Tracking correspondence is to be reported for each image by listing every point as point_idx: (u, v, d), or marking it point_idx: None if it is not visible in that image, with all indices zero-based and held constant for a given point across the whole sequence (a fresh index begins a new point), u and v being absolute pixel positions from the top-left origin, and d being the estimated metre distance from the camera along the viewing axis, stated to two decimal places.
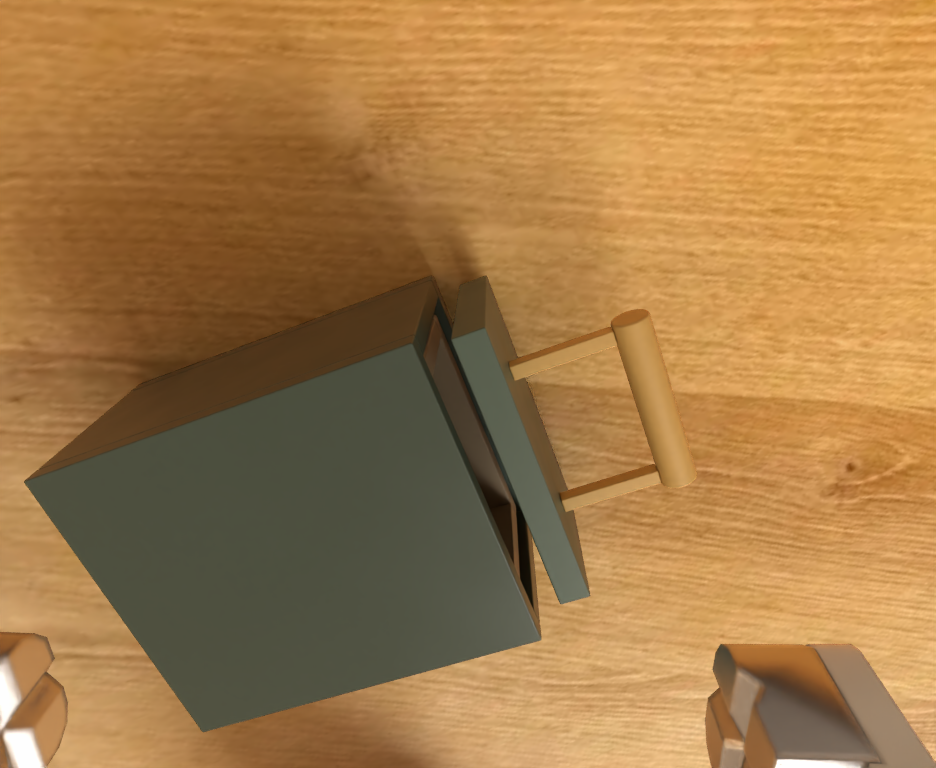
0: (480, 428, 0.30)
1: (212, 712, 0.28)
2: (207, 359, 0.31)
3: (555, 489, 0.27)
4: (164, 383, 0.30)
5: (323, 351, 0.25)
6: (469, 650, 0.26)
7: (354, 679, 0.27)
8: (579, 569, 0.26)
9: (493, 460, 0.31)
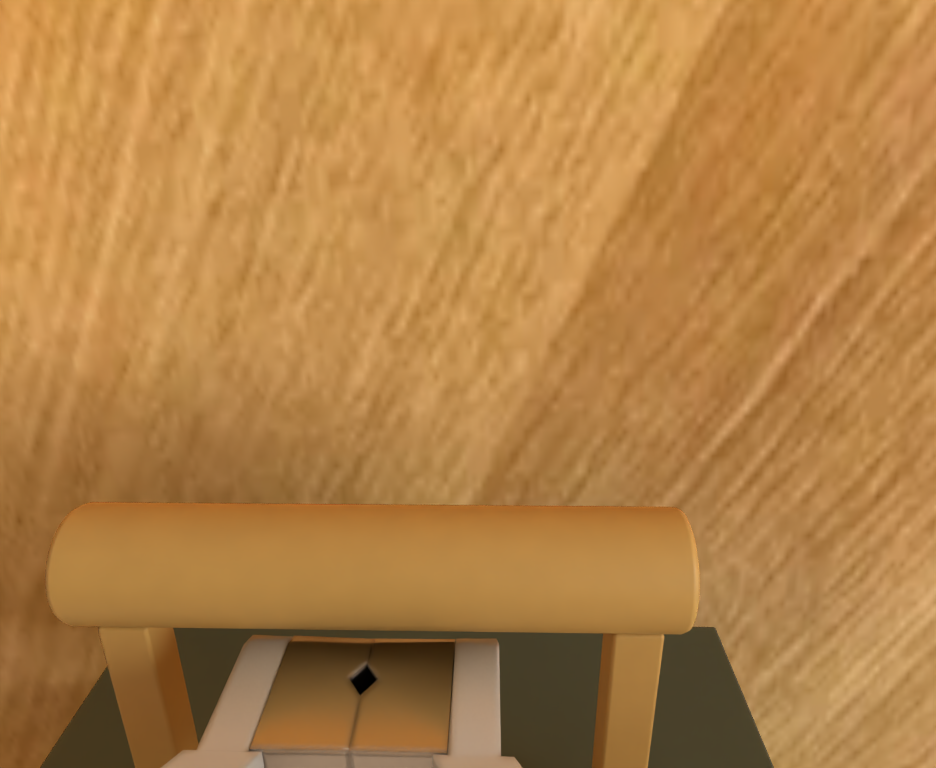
0: None
1: None
2: None
3: None
4: None
5: None
6: None
7: None
8: None
9: None
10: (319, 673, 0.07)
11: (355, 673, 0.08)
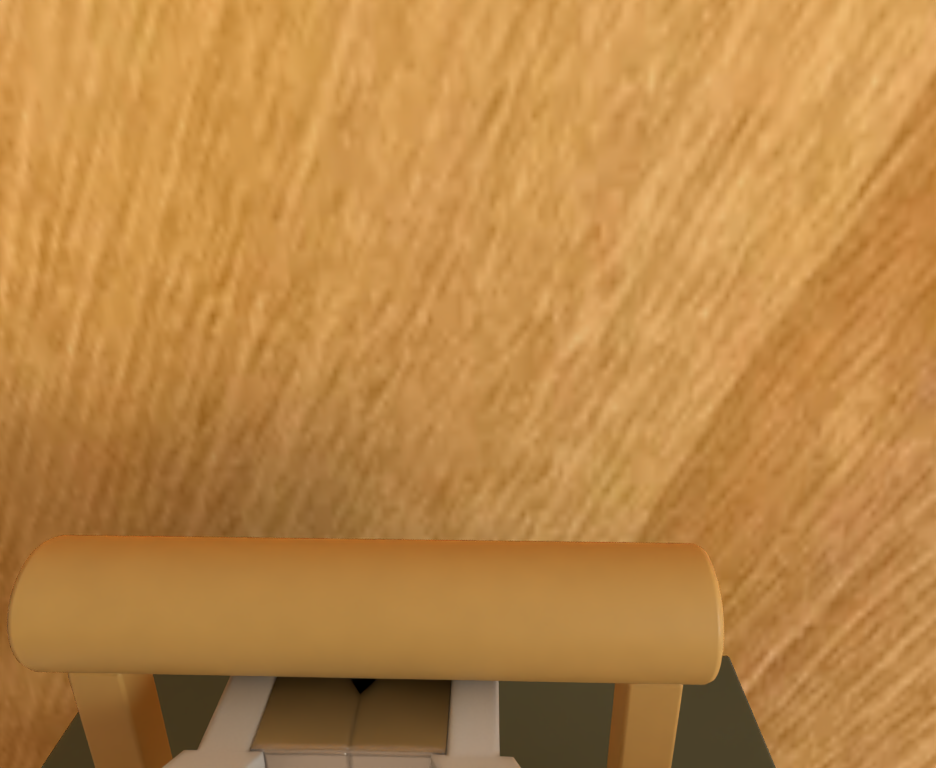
0: None
1: None
2: None
3: None
4: None
5: None
6: None
7: None
8: None
9: None
10: None
11: None
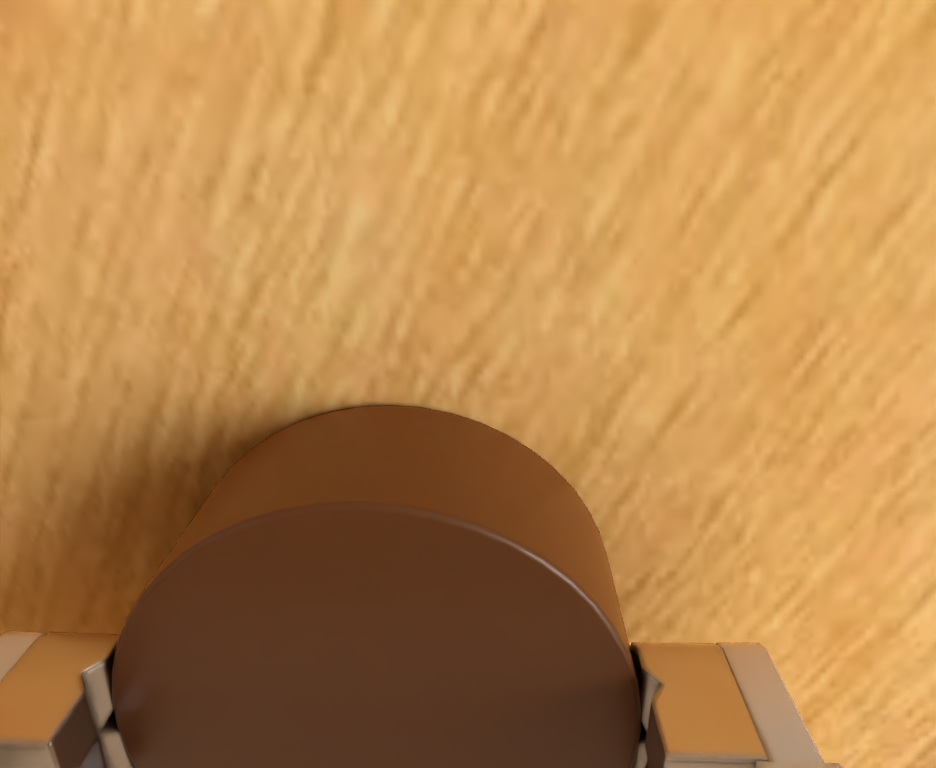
0: None
1: None
2: None
3: None
4: None
5: None
6: None
7: None
8: None
9: None
10: (55, 668, 0.08)
11: (92, 668, 0.08)
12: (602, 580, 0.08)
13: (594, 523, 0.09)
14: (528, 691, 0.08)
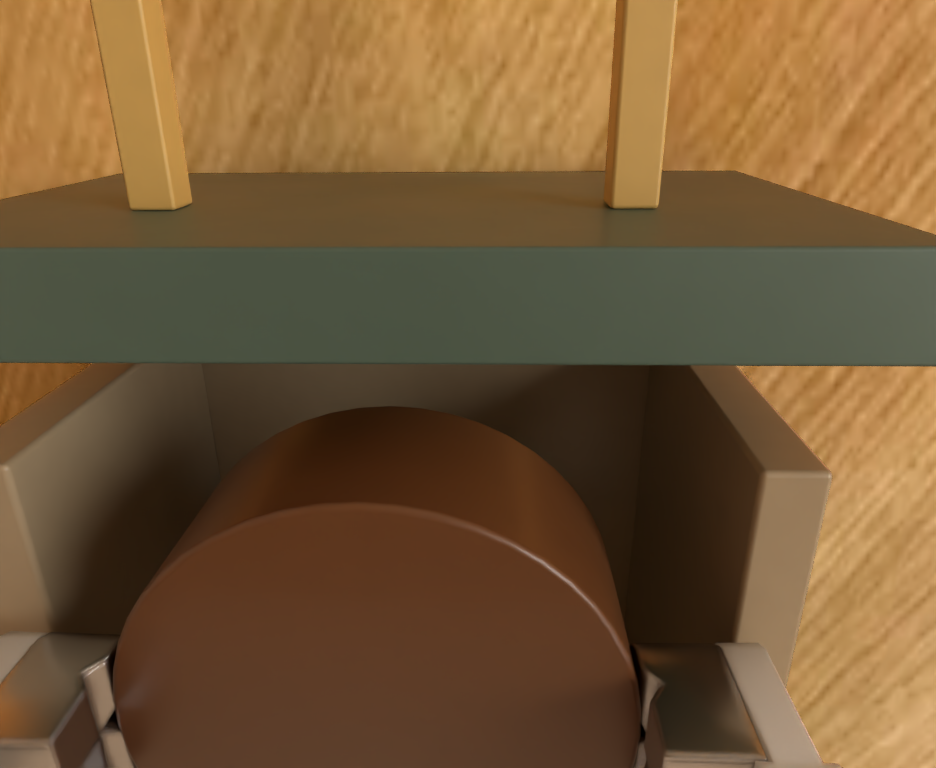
0: None
1: None
2: None
3: (552, 213, 0.08)
4: None
5: None
6: None
7: None
8: (830, 248, 0.07)
9: None
10: (55, 668, 0.08)
11: (92, 668, 0.08)
12: (602, 581, 0.08)
13: (595, 524, 0.09)
14: (528, 692, 0.08)
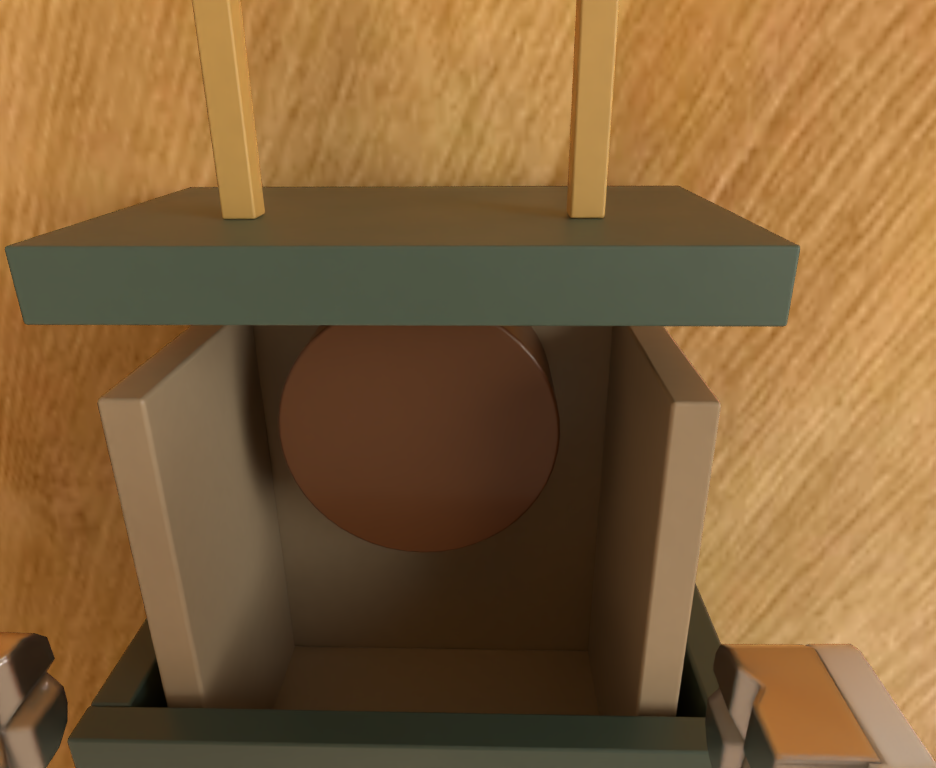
0: None
1: None
2: None
3: (528, 221, 0.12)
4: None
5: None
6: None
7: None
8: (707, 246, 0.10)
9: None
10: None
11: None
12: (539, 355, 0.15)
13: (540, 343, 0.16)
14: (499, 409, 0.14)
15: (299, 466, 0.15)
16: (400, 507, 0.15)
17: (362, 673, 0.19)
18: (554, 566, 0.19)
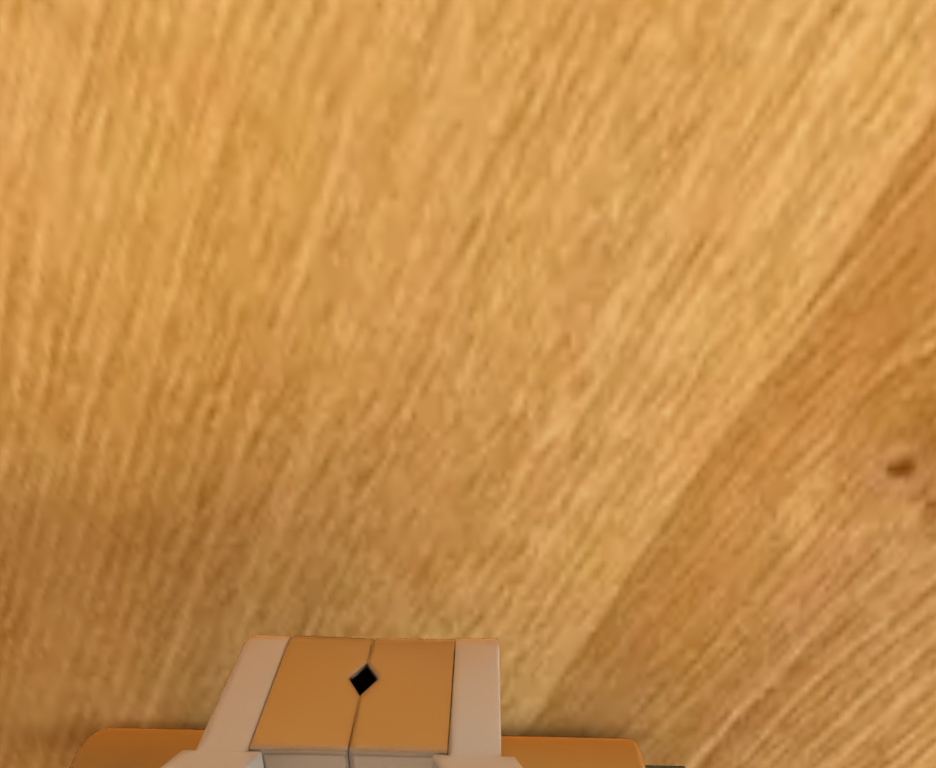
0: None
1: None
2: None
3: None
4: None
5: None
6: None
7: None
8: None
9: None
10: (319, 673, 0.07)
11: (355, 673, 0.08)
12: None
13: None
14: None
15: None
16: None
17: None
18: None
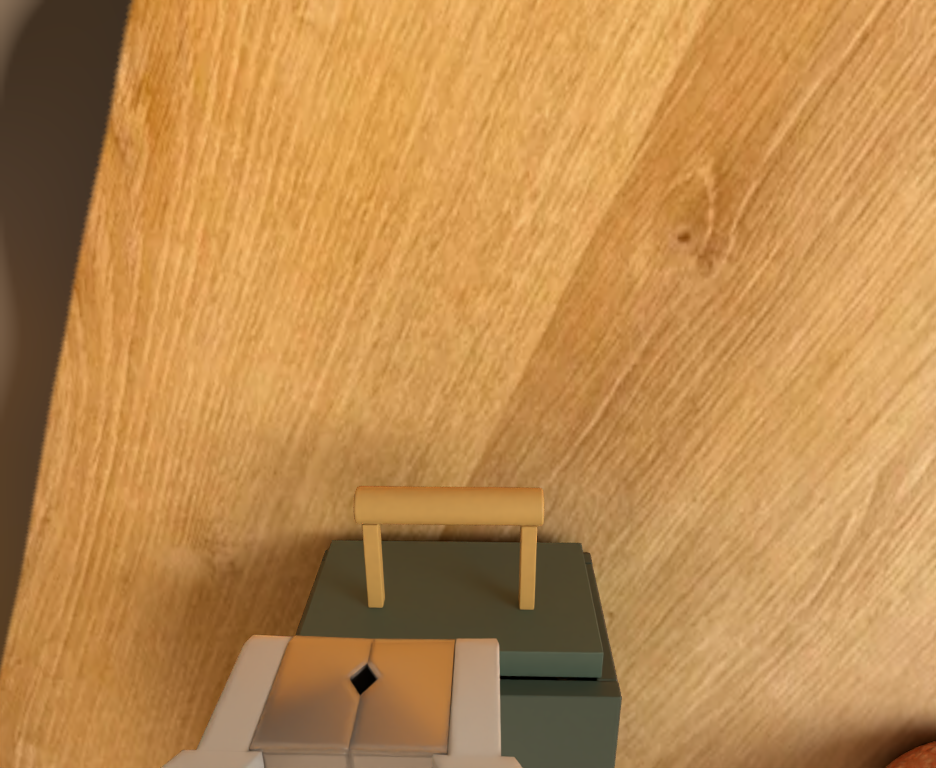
0: None
1: None
2: None
3: (500, 614, 0.27)
4: None
5: None
6: (604, 752, 0.26)
7: None
8: (568, 652, 0.26)
9: None
10: (319, 673, 0.07)
11: (355, 673, 0.08)
12: None
13: None
14: None
15: None
16: None
17: None
18: None
